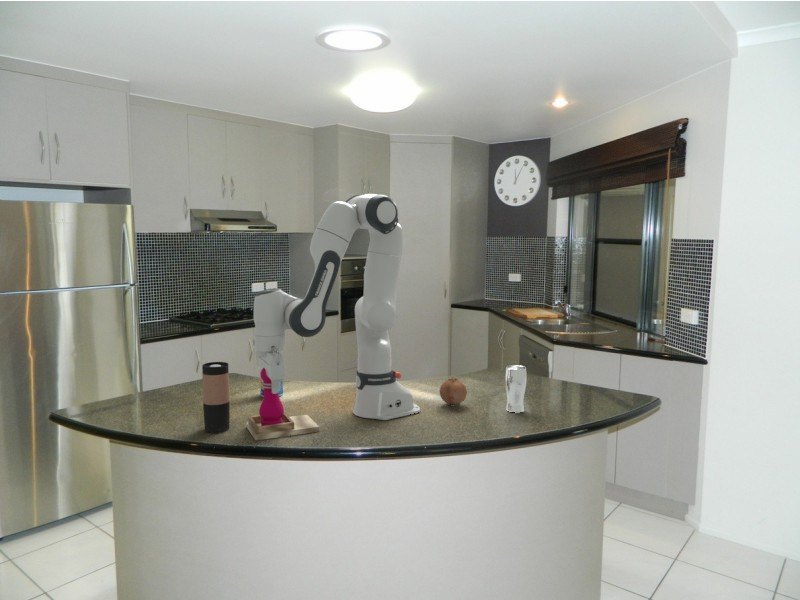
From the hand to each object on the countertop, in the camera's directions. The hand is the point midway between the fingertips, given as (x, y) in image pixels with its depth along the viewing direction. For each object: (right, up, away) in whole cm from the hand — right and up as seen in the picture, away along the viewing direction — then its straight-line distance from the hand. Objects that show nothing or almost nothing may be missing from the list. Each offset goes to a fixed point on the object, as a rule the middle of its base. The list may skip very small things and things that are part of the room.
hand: (270, 389), depth 174 cm
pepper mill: (0, -11, +1) cm, 12 cm away
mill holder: (+3, -13, +3) cm, 13 cm away
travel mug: (-17, -13, +2) cm, 21 cm away
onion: (+57, -10, +29) cm, 65 cm away
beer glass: (+77, -11, +23) cm, 82 cm away
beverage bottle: (-9, -9, +40) cm, 42 cm away
